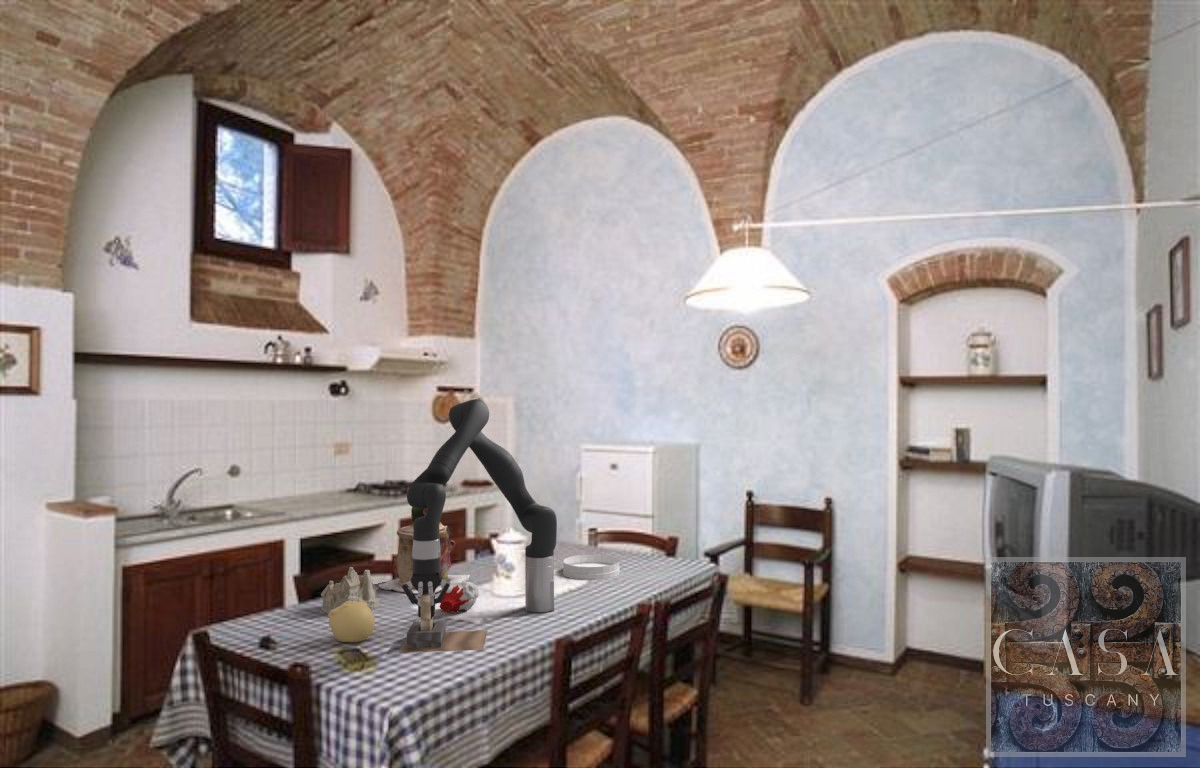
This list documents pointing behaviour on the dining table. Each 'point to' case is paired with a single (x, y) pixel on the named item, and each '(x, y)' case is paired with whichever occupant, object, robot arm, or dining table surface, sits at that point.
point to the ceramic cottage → (350, 591)
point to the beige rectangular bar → (426, 613)
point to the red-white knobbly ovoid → (459, 596)
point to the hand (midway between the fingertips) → (426, 618)
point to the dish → (591, 567)
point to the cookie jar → (406, 556)
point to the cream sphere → (351, 621)
